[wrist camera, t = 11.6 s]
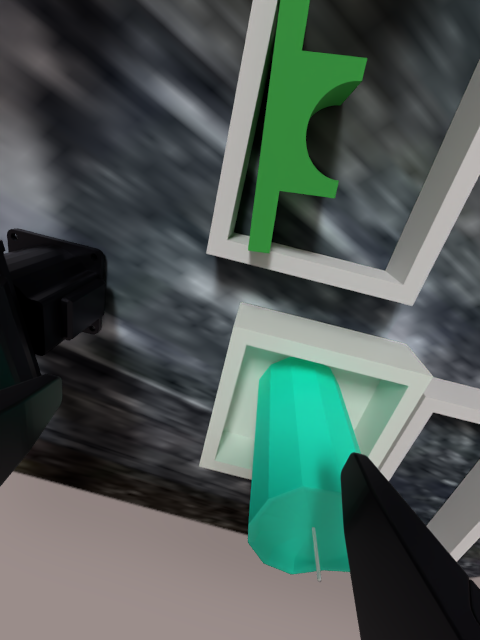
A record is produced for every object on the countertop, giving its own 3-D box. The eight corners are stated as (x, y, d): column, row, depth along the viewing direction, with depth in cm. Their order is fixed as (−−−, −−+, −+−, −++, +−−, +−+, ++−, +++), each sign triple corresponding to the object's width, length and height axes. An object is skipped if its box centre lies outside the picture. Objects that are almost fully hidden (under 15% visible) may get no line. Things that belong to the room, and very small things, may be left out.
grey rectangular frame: (323, 520, 30) (328, 554, 27) (407, 370, 22) (425, 396, 20) (422, 545, 30) (437, 581, 27) (539, 404, 22) (576, 434, 20)
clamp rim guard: (215, 243, 20) (206, 253, 17) (307, -232, 12) (318, -353, 9) (393, 289, 20) (412, 305, 17) (602, -155, 12) (698, -254, 9)
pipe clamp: (310, 244, 20) (320, 262, 16) (252, 236, 20) (247, 251, 16) (360, 13, 15) (393, -51, 11) (283, 5, 15) (287, -61, 11)
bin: (209, 427, 26) (198, 466, 23) (240, 301, 21) (233, 326, 18) (343, 461, 27) (354, 505, 23) (406, 343, 22) (433, 376, 18)
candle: (247, 409, 24) (226, 598, 13) (271, 345, 22) (269, 513, 11) (320, 430, 24) (359, 634, 13) (352, 370, 22) (433, 560, 11)
